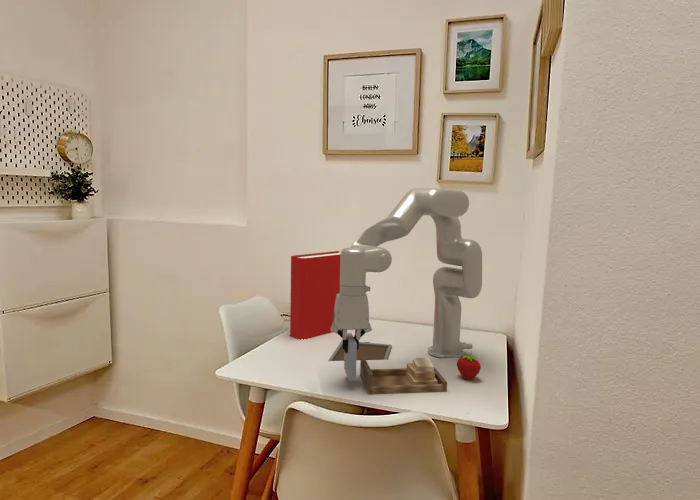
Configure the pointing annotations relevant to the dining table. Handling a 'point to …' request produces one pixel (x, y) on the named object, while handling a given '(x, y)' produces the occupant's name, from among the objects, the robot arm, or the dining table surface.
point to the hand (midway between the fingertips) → (350, 351)
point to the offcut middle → (419, 376)
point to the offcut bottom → (419, 382)
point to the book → (313, 293)
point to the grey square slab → (350, 358)
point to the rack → (395, 381)
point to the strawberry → (468, 366)
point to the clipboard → (364, 351)
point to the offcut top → (423, 365)
